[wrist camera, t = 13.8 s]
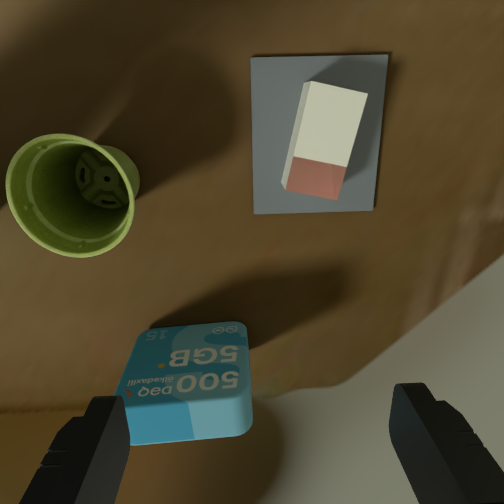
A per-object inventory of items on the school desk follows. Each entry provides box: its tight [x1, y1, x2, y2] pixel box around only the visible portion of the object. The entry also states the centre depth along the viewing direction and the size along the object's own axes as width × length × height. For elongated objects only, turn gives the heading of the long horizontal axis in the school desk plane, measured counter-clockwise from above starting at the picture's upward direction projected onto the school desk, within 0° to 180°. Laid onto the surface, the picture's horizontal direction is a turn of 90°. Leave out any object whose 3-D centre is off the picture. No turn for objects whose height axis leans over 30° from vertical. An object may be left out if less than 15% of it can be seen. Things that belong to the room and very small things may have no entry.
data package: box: [114, 321, 253, 445], centre depth 38 cm, size 12×4×12 cm, turn 95°
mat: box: [250, 55, 388, 214], centre depth 35 cm, size 12×14×1 cm
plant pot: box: [6, 134, 140, 257], centre depth 32 cm, size 9×9×9 cm
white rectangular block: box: [281, 81, 368, 200], centre depth 34 cm, size 9×5×4 cm, turn 169°
